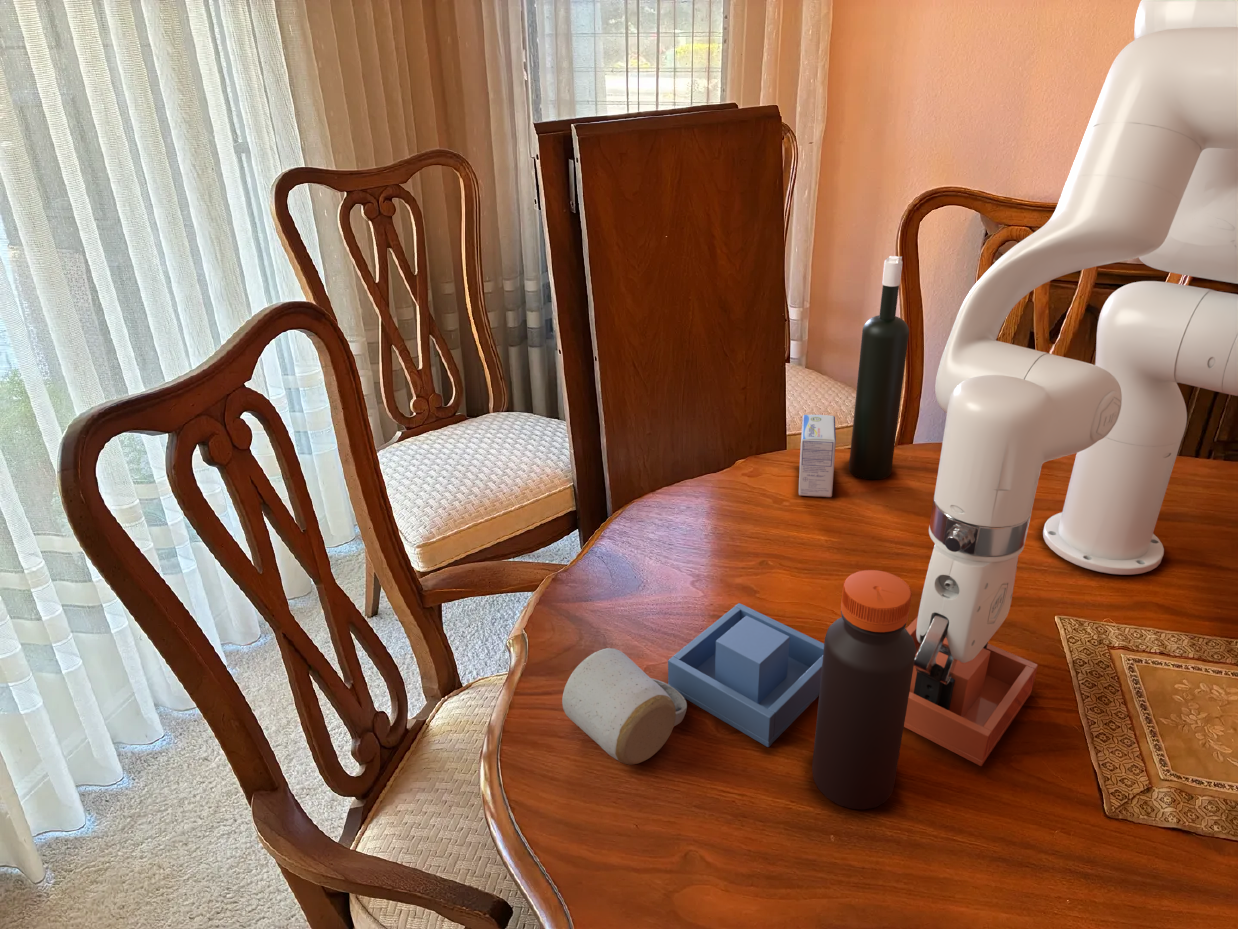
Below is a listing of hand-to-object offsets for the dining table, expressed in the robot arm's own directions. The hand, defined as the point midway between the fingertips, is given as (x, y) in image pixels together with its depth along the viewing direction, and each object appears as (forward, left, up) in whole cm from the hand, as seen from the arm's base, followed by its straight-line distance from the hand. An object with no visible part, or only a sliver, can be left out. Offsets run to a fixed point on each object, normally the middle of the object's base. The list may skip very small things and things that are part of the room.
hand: (948, 683), depth 80 cm
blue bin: (+10, -15, -2) cm, 18 cm away
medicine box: (-28, -31, -2) cm, 42 cm away
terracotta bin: (0, 0, -2) cm, 2 cm away
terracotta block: (0, 0, -1) cm, 1 cm away
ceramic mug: (+22, -20, -2) cm, 30 cm away
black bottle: (+14, -2, -2) cm, 14 cm away
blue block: (+10, -15, -1) cm, 18 cm away
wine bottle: (-36, -27, -2) cm, 45 cm away
